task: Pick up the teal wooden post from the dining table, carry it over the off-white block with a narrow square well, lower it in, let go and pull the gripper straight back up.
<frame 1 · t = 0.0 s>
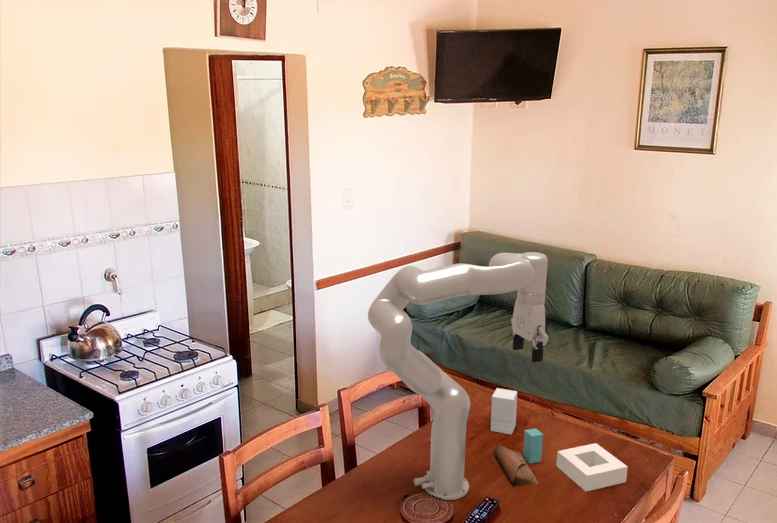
hand: (527, 355, 180), 37 cm above the table, tool pointing down, fingers open, 9 cm apart
well block: (590, 473, 188), on the table
supplement box: (503, 428, 215), on the table
teal post: (531, 459, 196), on the table
sunglasses case: (515, 470, 191), on the table
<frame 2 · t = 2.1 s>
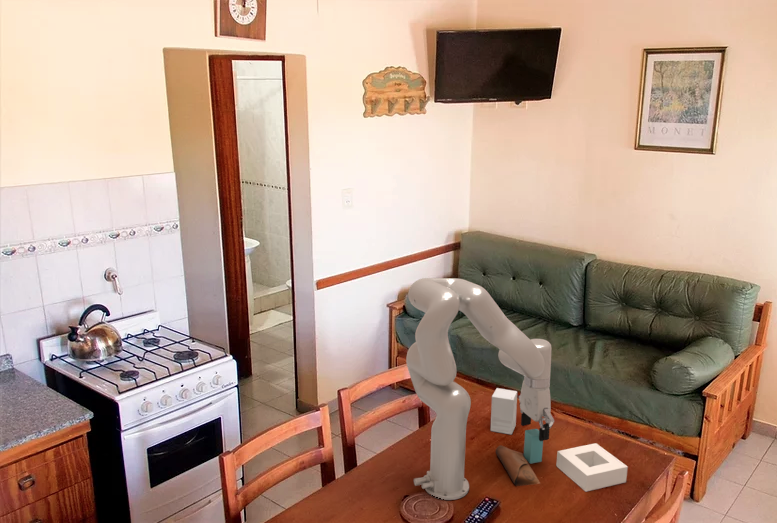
hand: (534, 432, 194), 9 cm above the table, tool pointing down, fingers open, 9 cm apart
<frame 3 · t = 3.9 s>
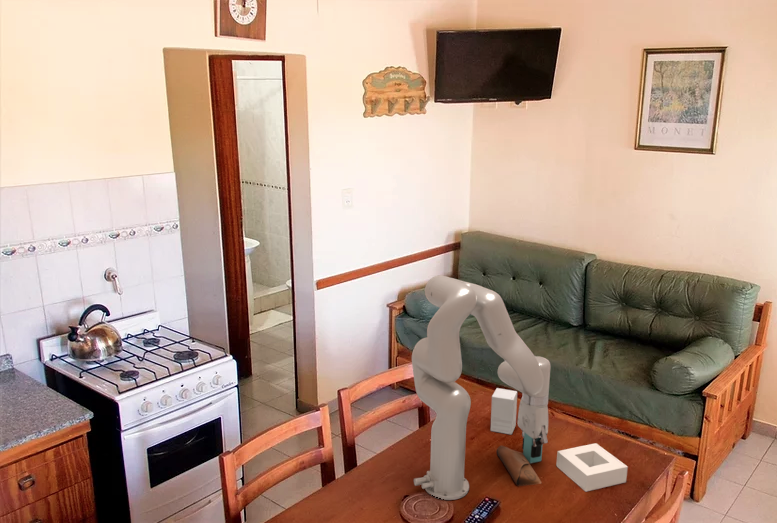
hand: (531, 452, 195), 2 cm above the table, tool pointing down, fingers closed on teal post, 4 cm apart
teal post: (532, 458, 196), on the table, touching gripper
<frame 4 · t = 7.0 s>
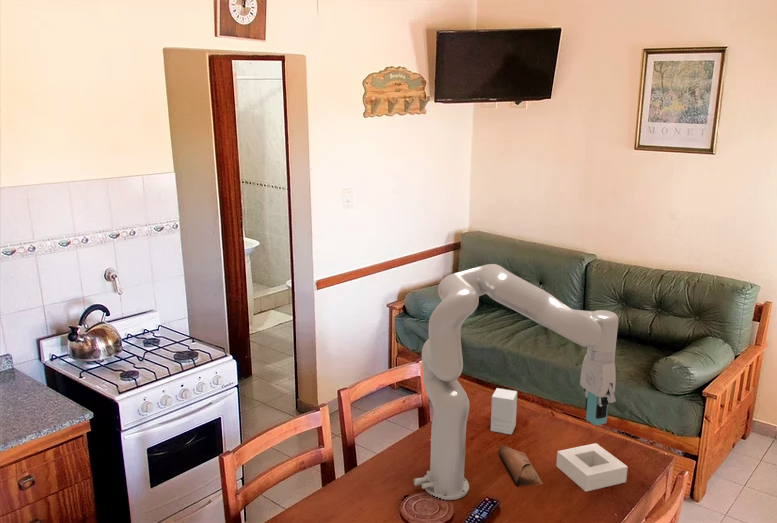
hand: (595, 413, 184), 19 cm above the table, tool pointing down, fingers closed on teal post, 4 cm apart
teal post: (596, 421, 184), point 17 cm above the table, touching gripper
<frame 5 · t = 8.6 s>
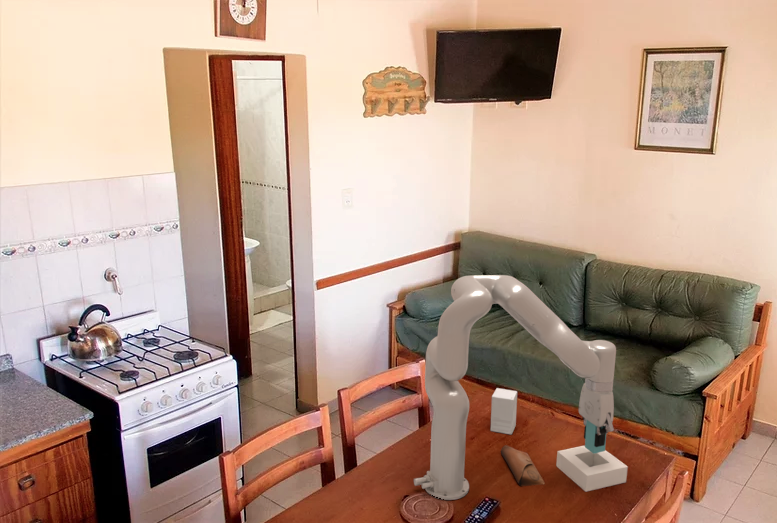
hand: (594, 441, 186), 11 cm above the table, tool pointing down, fingers closed on teal post, 4 cm apart
teal post: (594, 448, 186), point 8 cm above the table, touching gripper
when the fingers open (7 cm above the table, at t = 10.1 s): teal post drops 4 cm, resting in well block.
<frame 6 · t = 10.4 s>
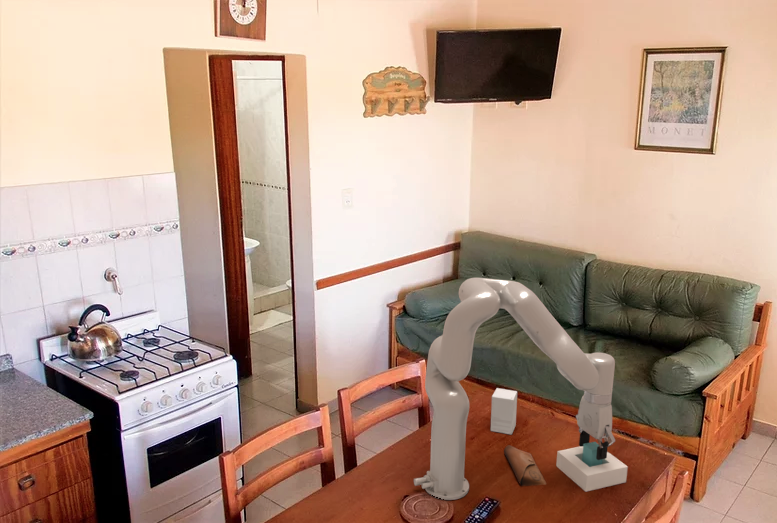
hand: (592, 451, 186), 7 cm above the table, tool pointing down, fingers open, 7 cm apart
teal post: (590, 473, 188), resting in well block
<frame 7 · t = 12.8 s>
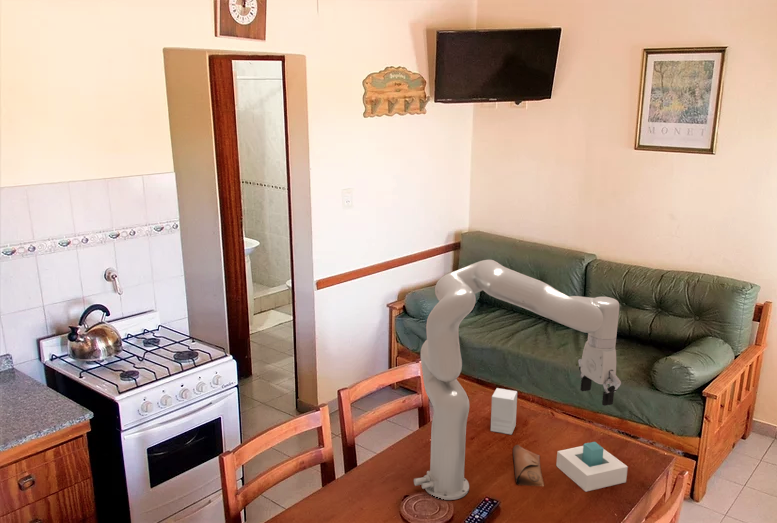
hand: (596, 397, 183), 24 cm above the table, tool pointing down, fingers open, 9 cm apart
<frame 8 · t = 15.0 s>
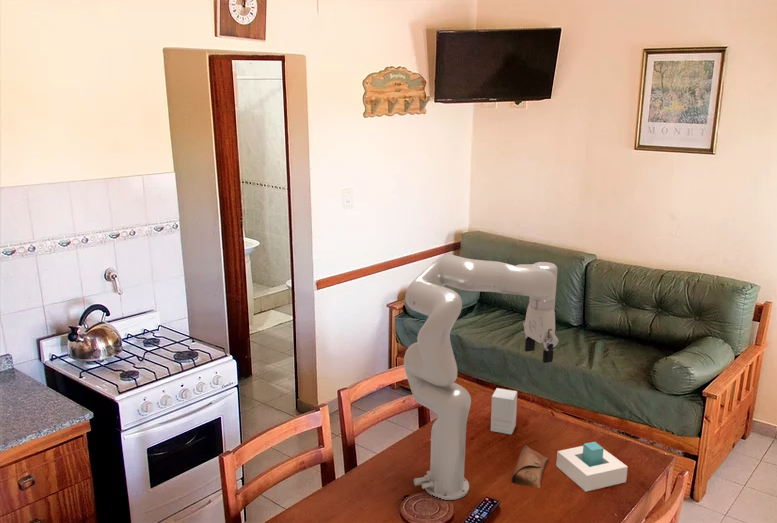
hand: (538, 356, 197), 30 cm above the table, tool pointing down, fingers open, 9 cm apart
at the end: teal post 0.3 cm off-centre on the well block, point 0.0 cm above the well block's base; teal post tilted 0°; the gripper is holding nothing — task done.
